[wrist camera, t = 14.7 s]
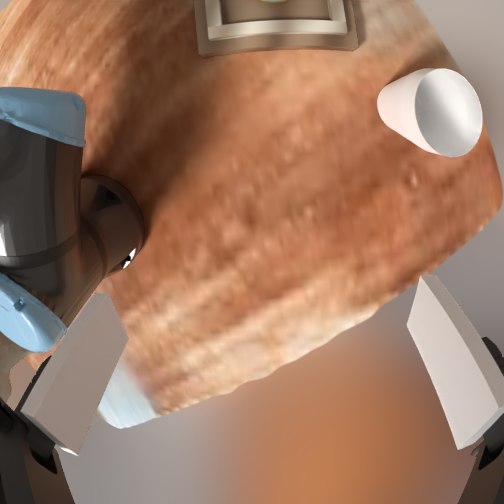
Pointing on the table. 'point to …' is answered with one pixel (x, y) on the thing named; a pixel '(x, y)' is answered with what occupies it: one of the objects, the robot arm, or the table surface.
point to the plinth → (273, 26)
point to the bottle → (272, 1)
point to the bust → (9, 362)
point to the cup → (433, 111)
